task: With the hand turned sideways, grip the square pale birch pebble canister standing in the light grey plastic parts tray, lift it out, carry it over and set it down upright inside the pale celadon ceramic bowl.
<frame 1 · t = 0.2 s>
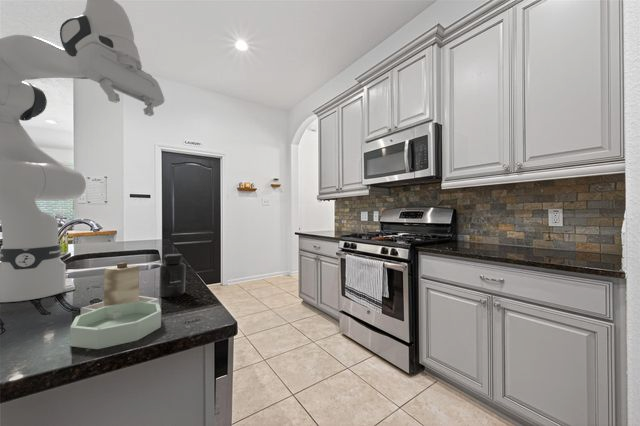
hand: (133, 108, 68), 52 cm above the counter, tool tilted 20°, fingers open, 8 cm apart
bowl: (119, 330, 55), on the counter
birch canister: (121, 287, 66), in the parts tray
supplement bottle: (172, 295, 79), on the counter
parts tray: (121, 311, 66), on the counter
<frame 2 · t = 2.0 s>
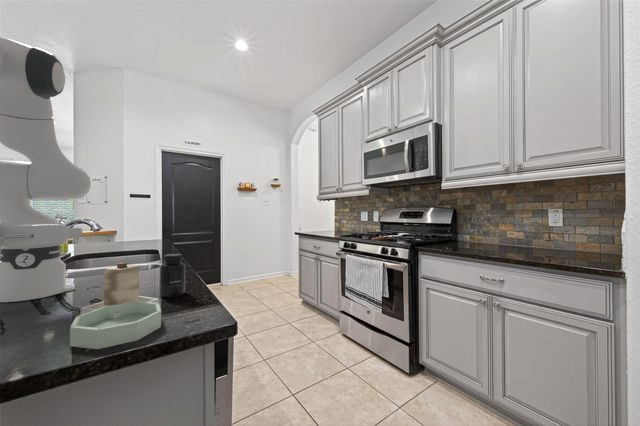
hand: (64, 231, 54), 21 cm above the counter, tool horizontal, fingers open, 8 cm apart
nothing on the counter moved.
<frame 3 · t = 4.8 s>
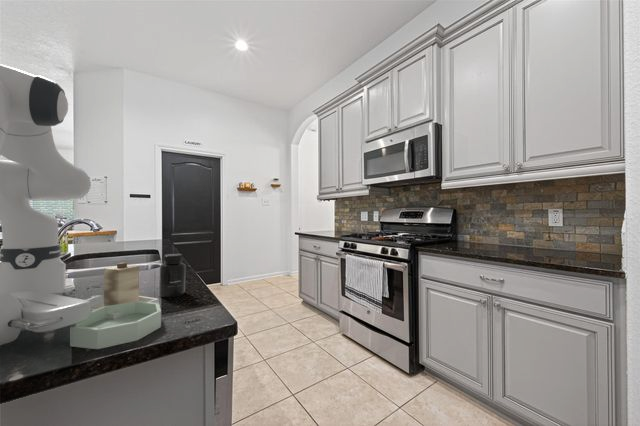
hand: (86, 296, 59), 6 cm above the counter, tool horizontal, fingers open, 8 cm apart
nothing on the counter moved.
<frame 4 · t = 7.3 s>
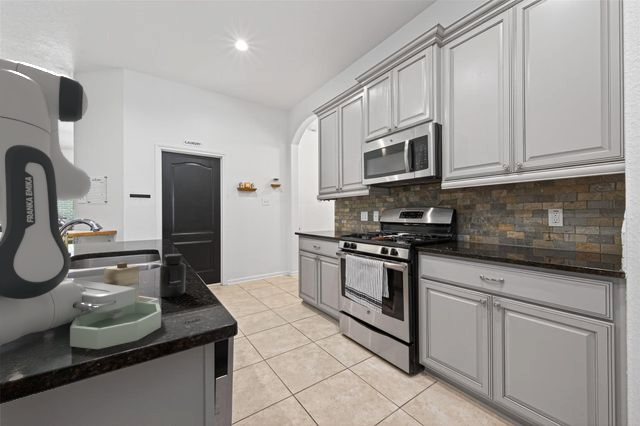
hand: (127, 285, 67), 6 cm above the counter, tool horizontal, fingers closed on birch canister, 5 cm apart
birch canister: (121, 287, 66), in the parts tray, touching gripper
everything else where it was.
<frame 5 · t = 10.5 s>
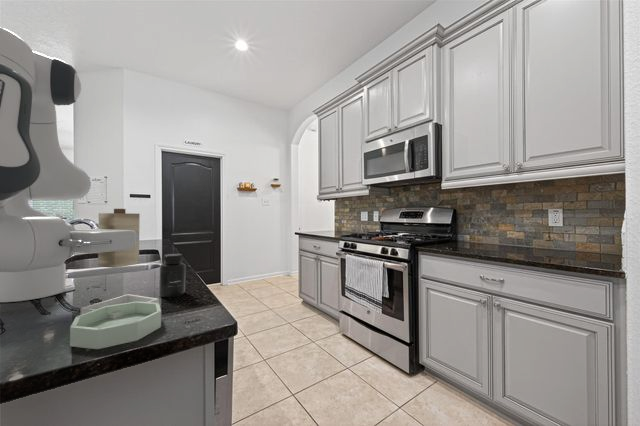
hand: (126, 236, 57), 20 cm above the counter, tool horizontal, fingers closed on birch canister, 5 cm apart
birch canister: (119, 236, 56), point 20 cm above the counter, touching gripper
everything else where it was.
when the fingers open (8 cm above the counter, at t = 13.8 s): birch canister stays where it is, resting on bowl.
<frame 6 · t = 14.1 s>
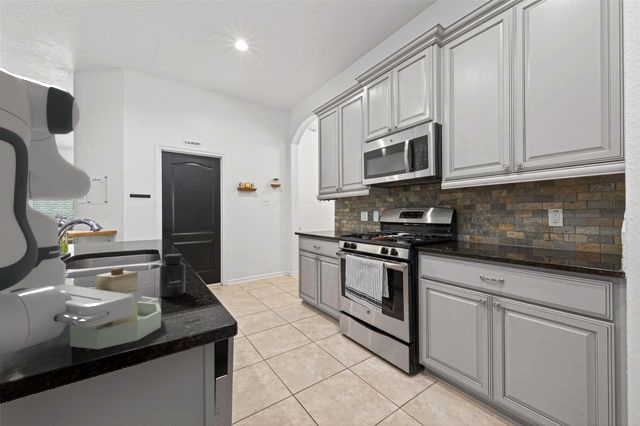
hand: (124, 291, 56), 8 cm above the counter, tool horizontal, fingers open, 8 cm apart
birch canister: (117, 297, 55), in the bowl, point 7 cm above the counter
everything else where it was.
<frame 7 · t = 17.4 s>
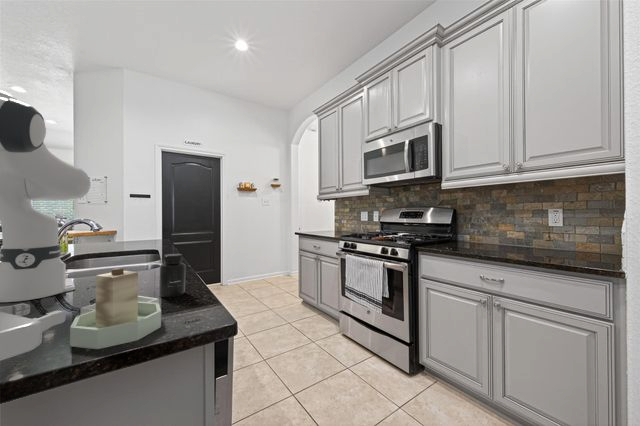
hand: (44, 311, 44), 8 cm above the counter, tool horizontal, fingers open, 8 cm apart
nothing on the counter moved.
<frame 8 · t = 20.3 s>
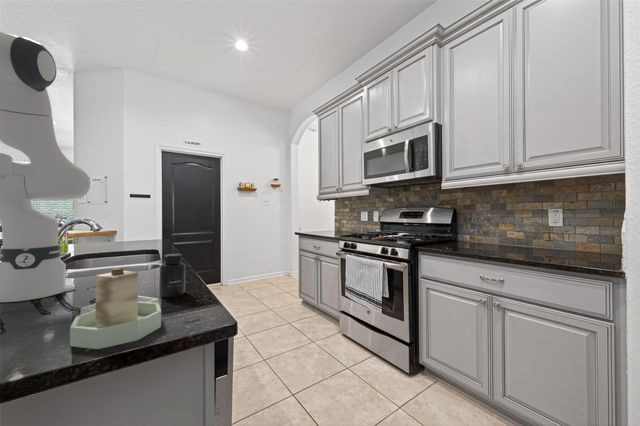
hand: (19, 172, 49), 32 cm above the counter, tool horizontal, fingers open, 8 cm apart
nothing on the counter moved.
at the end: birch canister inside the target area on the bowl (0.5 cm from its centre), point 7.0 cm above the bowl's base; birch canister tilted 0°; the gripper is holding nothing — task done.
